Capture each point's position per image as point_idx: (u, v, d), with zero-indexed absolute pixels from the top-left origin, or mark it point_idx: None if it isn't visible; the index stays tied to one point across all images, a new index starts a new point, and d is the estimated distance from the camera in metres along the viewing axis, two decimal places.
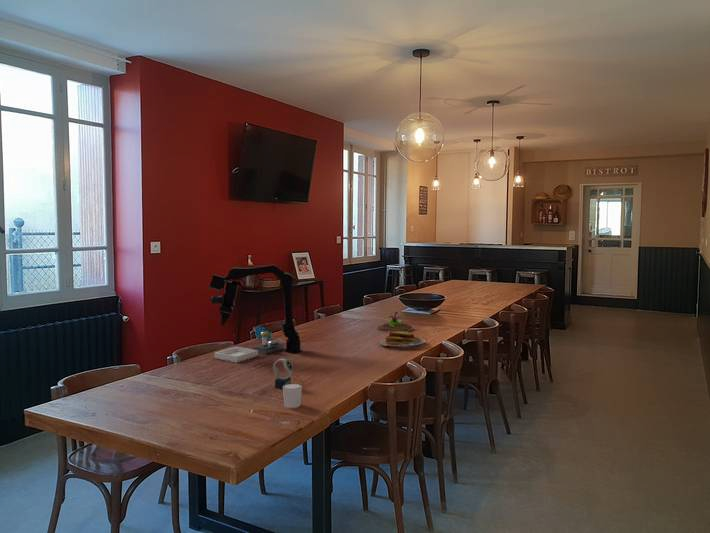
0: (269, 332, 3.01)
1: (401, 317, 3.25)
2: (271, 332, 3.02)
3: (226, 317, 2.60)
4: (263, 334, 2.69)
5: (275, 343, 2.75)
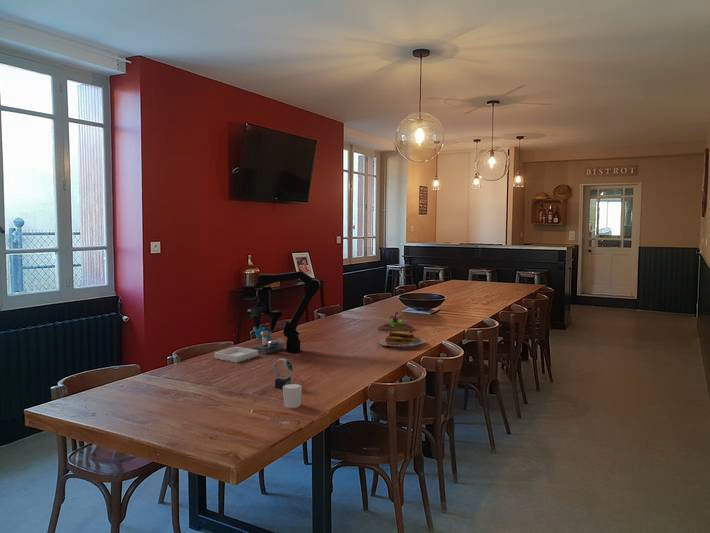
0: (269, 332, 3.01)
1: (402, 317, 3.25)
2: (271, 332, 3.02)
3: (275, 322, 2.68)
4: (263, 334, 2.69)
5: (275, 343, 2.75)
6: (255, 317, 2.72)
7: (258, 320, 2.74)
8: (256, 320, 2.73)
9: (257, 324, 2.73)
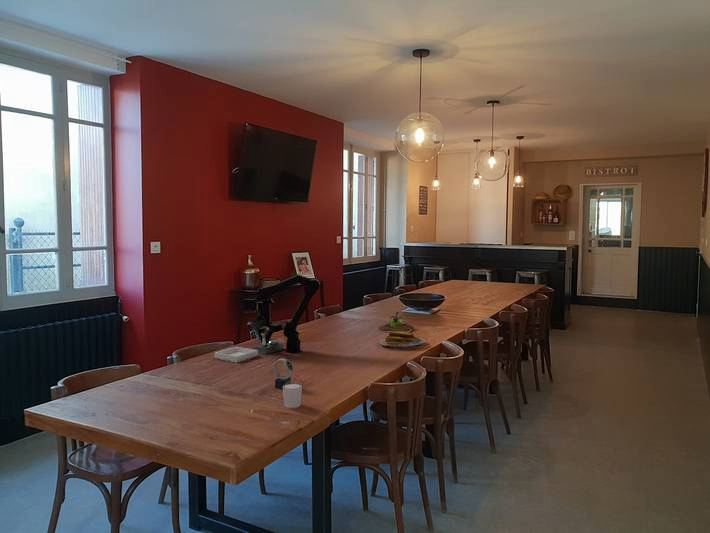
0: None
1: (402, 317, 3.24)
2: None
3: (270, 334, 2.71)
4: (263, 334, 2.69)
5: (275, 343, 2.75)
6: (260, 331, 2.71)
7: None
8: None
9: None
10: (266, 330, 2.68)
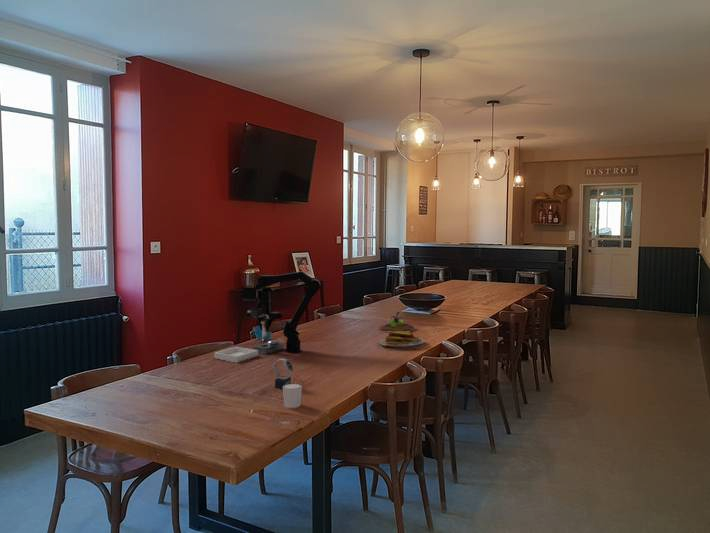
0: (269, 332, 3.01)
1: (403, 317, 3.24)
2: (271, 332, 3.02)
3: (270, 323, 2.70)
4: (263, 322, 2.69)
5: (275, 343, 2.75)
6: (259, 319, 2.71)
7: None
8: (260, 322, 2.71)
9: (261, 326, 2.71)
10: (266, 318, 2.68)
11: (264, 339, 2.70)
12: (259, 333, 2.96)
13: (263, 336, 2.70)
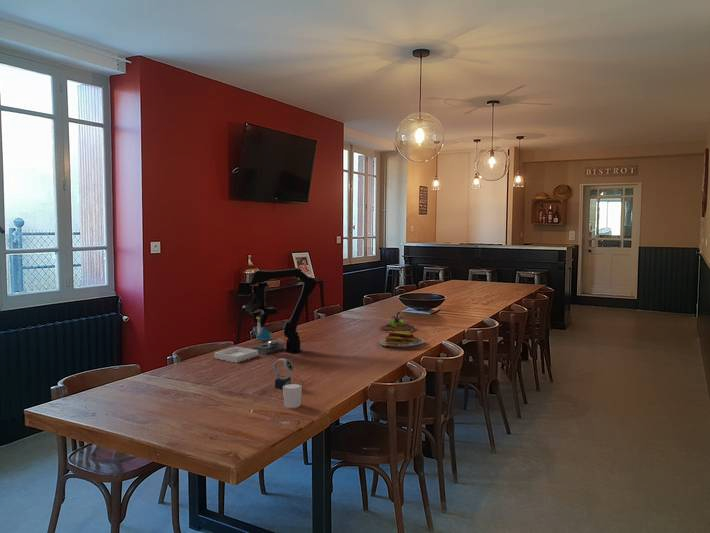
0: (269, 332, 3.01)
1: (403, 317, 3.24)
2: (271, 332, 3.02)
3: (265, 318, 2.68)
4: (258, 317, 2.67)
5: (275, 343, 2.75)
6: (254, 314, 2.69)
7: None
8: (255, 317, 2.69)
9: (256, 321, 2.69)
10: None
11: (259, 335, 2.68)
12: None
13: (258, 332, 2.68)
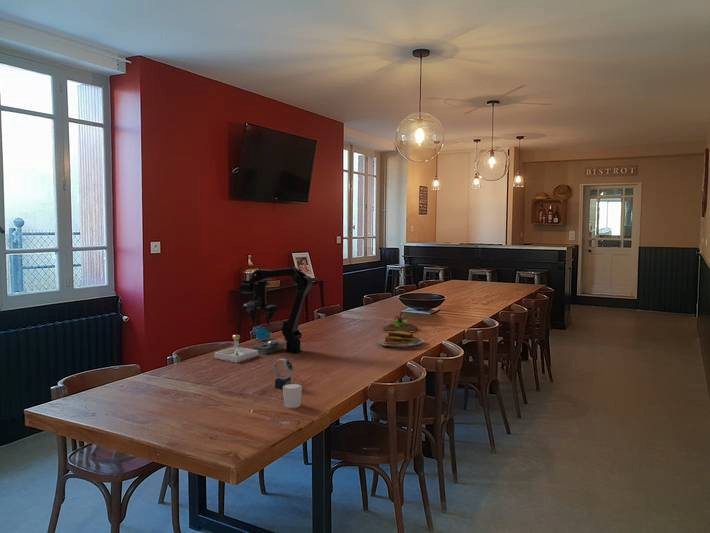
0: (269, 332, 3.02)
1: None
2: (271, 332, 3.02)
3: (270, 316, 2.75)
4: (234, 337, 2.58)
5: (275, 343, 2.75)
6: (251, 311, 2.79)
7: (254, 314, 2.80)
8: (252, 314, 2.79)
9: (253, 318, 2.79)
10: None
11: (236, 355, 2.59)
12: (258, 333, 2.97)
13: (235, 352, 2.59)
